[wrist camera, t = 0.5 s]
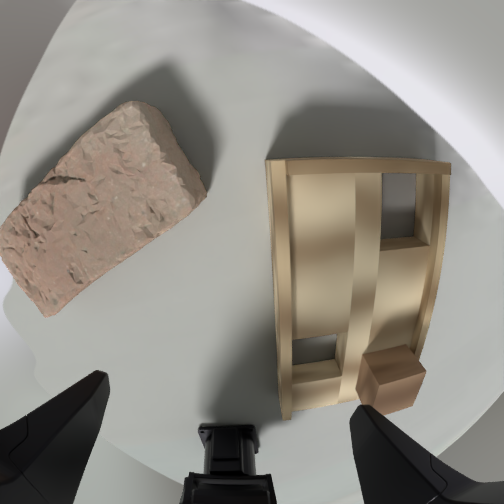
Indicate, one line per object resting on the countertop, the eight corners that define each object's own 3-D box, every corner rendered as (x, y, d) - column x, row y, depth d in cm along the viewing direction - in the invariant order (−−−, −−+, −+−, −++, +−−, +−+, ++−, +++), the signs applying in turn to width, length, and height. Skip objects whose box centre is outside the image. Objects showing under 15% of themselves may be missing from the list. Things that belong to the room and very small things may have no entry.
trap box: (394, 372, 27) (411, 399, 22) (278, 394, 26) (284, 428, 22) (423, 159, 19) (458, 164, 15) (264, 159, 19) (273, 161, 15)
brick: (153, 100, 17) (130, 87, 13) (214, 195, 20) (207, 207, 16) (20, 225, 20) (-12, 241, 15) (69, 298, 22) (44, 325, 18)
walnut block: (396, 378, 24) (412, 405, 20) (355, 389, 24) (368, 419, 20) (405, 343, 22) (426, 371, 18) (362, 354, 22) (379, 385, 18)
